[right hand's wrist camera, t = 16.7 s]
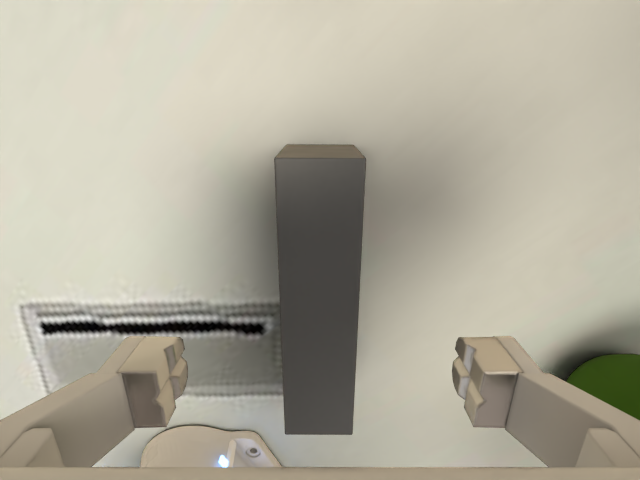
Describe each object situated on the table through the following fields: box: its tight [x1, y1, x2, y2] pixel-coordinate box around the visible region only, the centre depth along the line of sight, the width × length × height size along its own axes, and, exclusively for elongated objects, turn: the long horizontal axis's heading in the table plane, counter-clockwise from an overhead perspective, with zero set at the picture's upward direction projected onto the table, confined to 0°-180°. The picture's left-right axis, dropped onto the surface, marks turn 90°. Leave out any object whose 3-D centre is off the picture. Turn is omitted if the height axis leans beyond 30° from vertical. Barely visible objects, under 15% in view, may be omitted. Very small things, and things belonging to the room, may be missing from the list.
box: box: [274, 145, 366, 435], centre depth 31 cm, size 24×6×9 cm, turn 0°
